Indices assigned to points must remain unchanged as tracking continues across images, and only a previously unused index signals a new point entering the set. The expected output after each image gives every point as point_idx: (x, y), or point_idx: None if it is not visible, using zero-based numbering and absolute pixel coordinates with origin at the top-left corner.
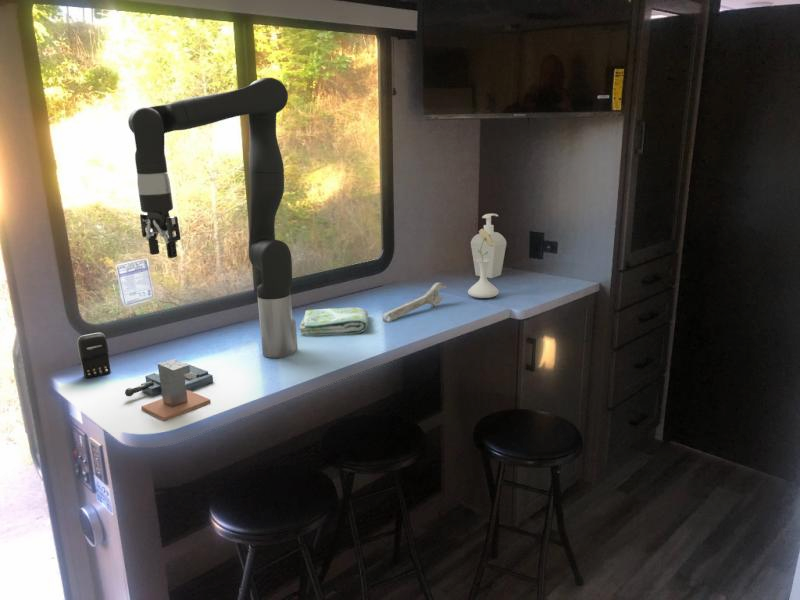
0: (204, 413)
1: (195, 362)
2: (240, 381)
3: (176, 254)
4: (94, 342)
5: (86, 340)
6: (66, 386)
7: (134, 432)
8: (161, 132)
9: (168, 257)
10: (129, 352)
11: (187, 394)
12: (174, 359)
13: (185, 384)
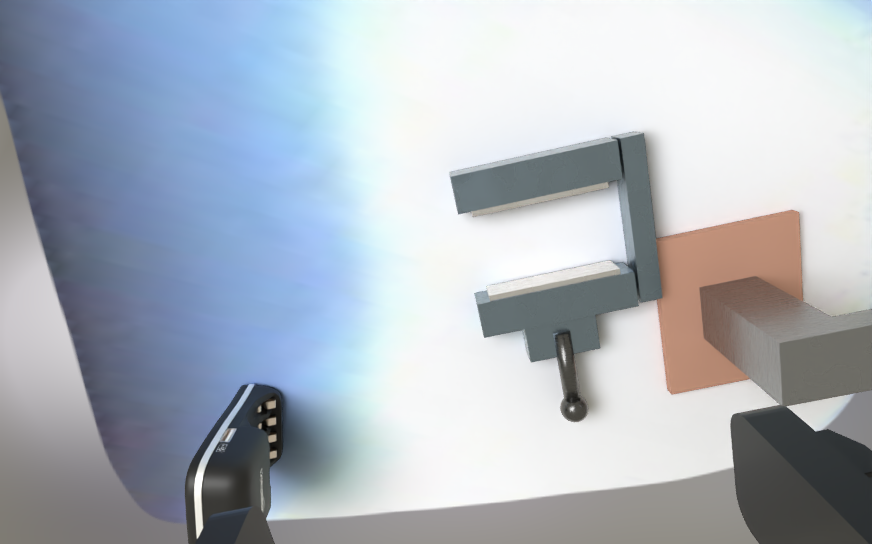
0: (849, 255)
1: (370, 103)
2: (704, 42)
3: (840, 438)
4: (256, 503)
5: None
6: (309, 511)
7: None
8: None
9: (748, 514)
10: (69, 277)
11: (696, 255)
12: (791, 342)
13: (652, 246)
